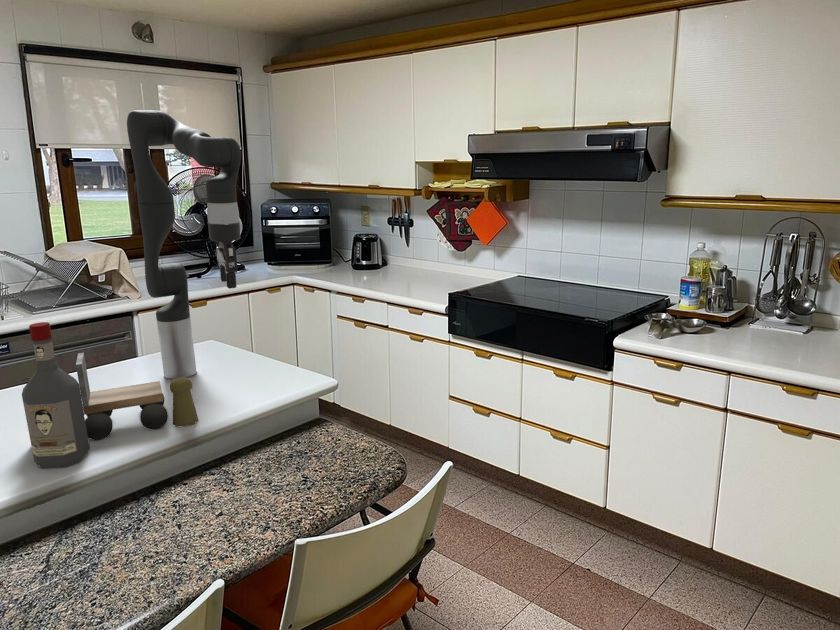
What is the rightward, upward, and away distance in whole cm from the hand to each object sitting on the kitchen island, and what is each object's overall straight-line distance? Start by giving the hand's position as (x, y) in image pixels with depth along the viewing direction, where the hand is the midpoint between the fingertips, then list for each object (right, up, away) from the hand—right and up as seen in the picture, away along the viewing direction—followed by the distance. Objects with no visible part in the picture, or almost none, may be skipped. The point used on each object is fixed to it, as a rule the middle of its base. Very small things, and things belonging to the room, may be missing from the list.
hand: (228, 284), depth 163 cm
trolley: (-22, -34, -7) cm, 42 cm away
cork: (-8, -34, -7) cm, 36 cm away
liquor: (-28, -39, -25) cm, 54 cm away
